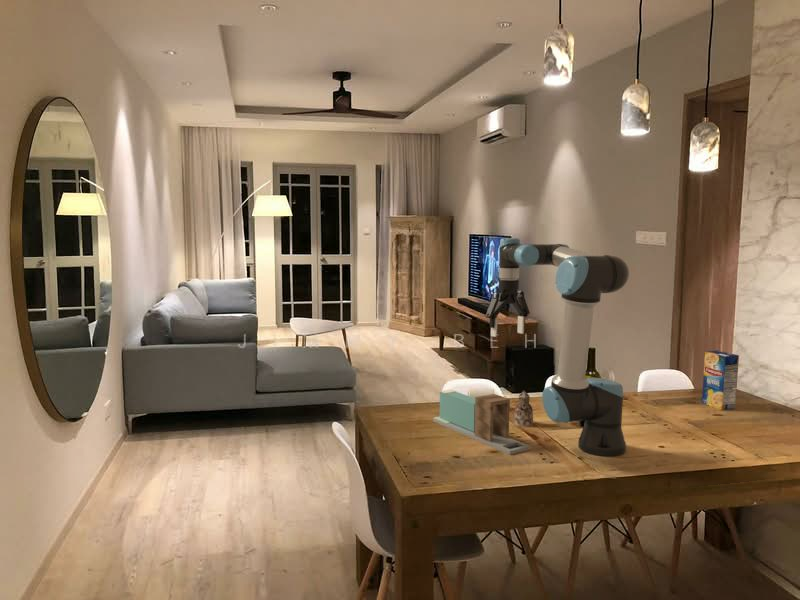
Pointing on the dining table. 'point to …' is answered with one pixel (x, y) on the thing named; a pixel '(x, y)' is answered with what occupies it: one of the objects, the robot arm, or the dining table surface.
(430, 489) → the dining table surface
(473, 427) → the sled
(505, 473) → the dining table surface
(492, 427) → the tunnel
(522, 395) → the figurine
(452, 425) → the track board
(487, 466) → the dining table surface
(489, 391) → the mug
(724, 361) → the blue cardboard box
